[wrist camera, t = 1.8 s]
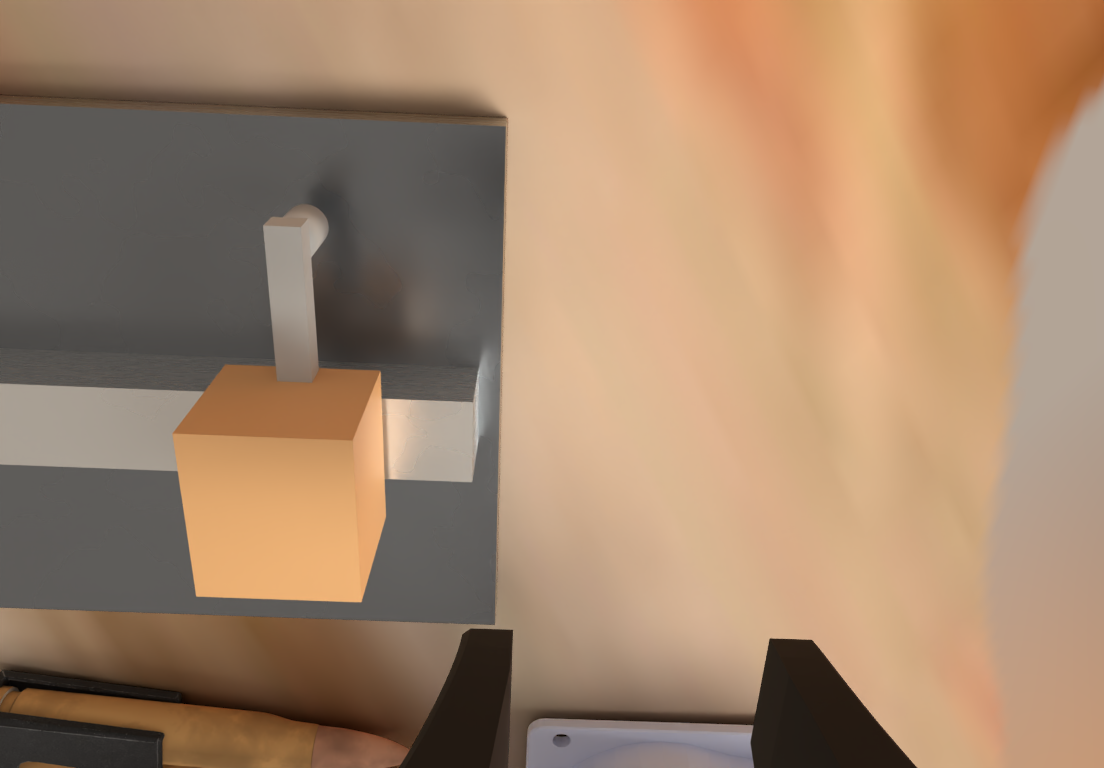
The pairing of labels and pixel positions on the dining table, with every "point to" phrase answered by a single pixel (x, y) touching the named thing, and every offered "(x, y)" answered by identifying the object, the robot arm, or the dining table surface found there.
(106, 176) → the grey slotted base plate
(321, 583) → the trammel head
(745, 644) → the dining table surface
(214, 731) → the ammunition clip
